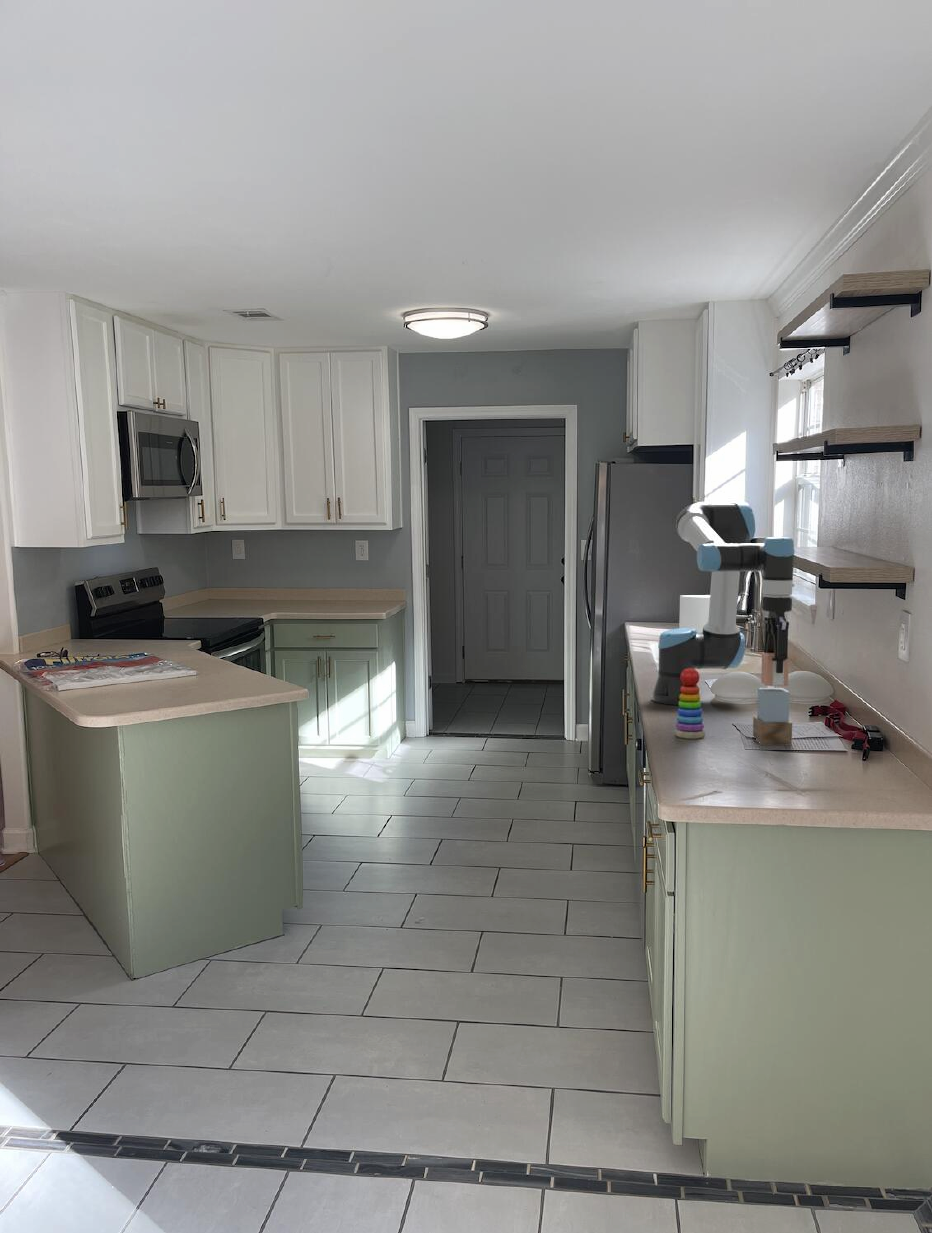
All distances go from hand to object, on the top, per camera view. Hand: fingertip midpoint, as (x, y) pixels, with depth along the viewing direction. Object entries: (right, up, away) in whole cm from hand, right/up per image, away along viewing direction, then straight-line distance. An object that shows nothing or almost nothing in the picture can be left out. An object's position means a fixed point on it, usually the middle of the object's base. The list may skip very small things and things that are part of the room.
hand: (774, 682), depth 257 cm
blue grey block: (0, -10, +1) cm, 10 cm away
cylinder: (+12, -2, +131) cm, 131 cm away
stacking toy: (-21, -15, +7) cm, 27 cm away
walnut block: (0, -16, +1) cm, 16 cm away
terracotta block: (0, 0, 0) cm, 0 cm away
